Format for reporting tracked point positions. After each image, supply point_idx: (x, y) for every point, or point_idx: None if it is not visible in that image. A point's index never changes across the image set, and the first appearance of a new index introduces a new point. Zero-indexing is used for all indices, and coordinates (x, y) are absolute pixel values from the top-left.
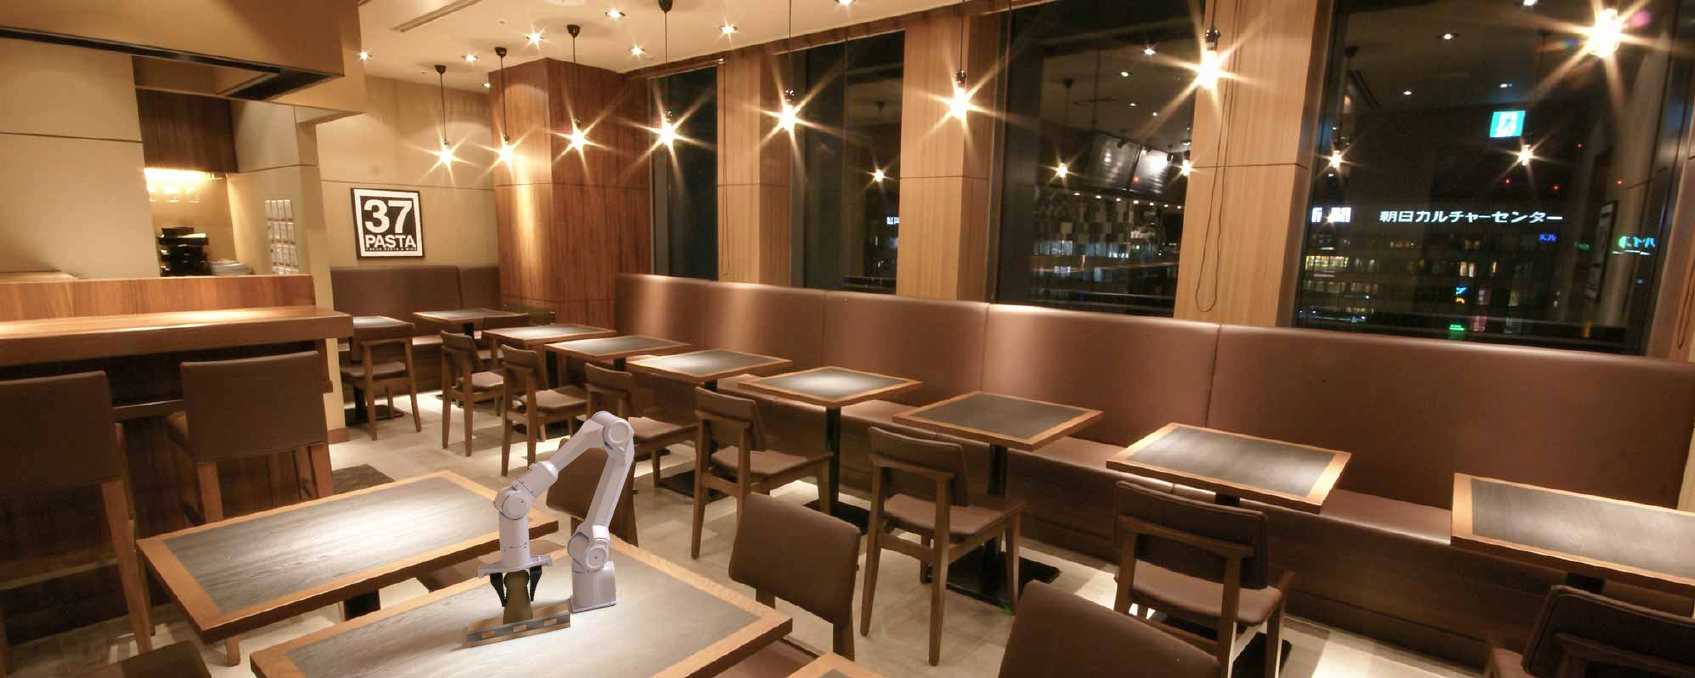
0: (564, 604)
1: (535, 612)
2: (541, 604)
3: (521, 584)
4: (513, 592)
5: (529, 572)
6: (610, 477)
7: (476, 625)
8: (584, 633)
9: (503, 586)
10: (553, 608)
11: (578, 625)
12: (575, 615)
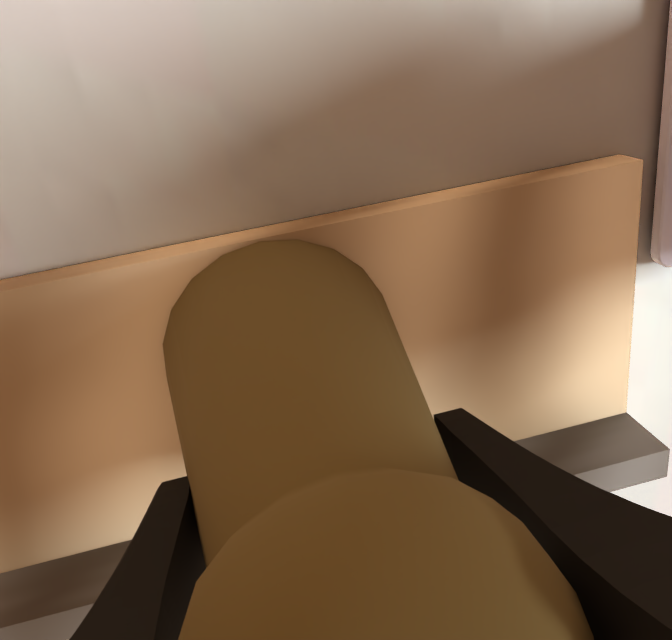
0: (624, 176)
1: (405, 264)
2: (429, 34)
3: None
4: None
5: (609, 618)
6: None
7: None
8: (660, 491)
9: (163, 599)
10: (539, 226)
11: (647, 411)
12: (653, 289)
